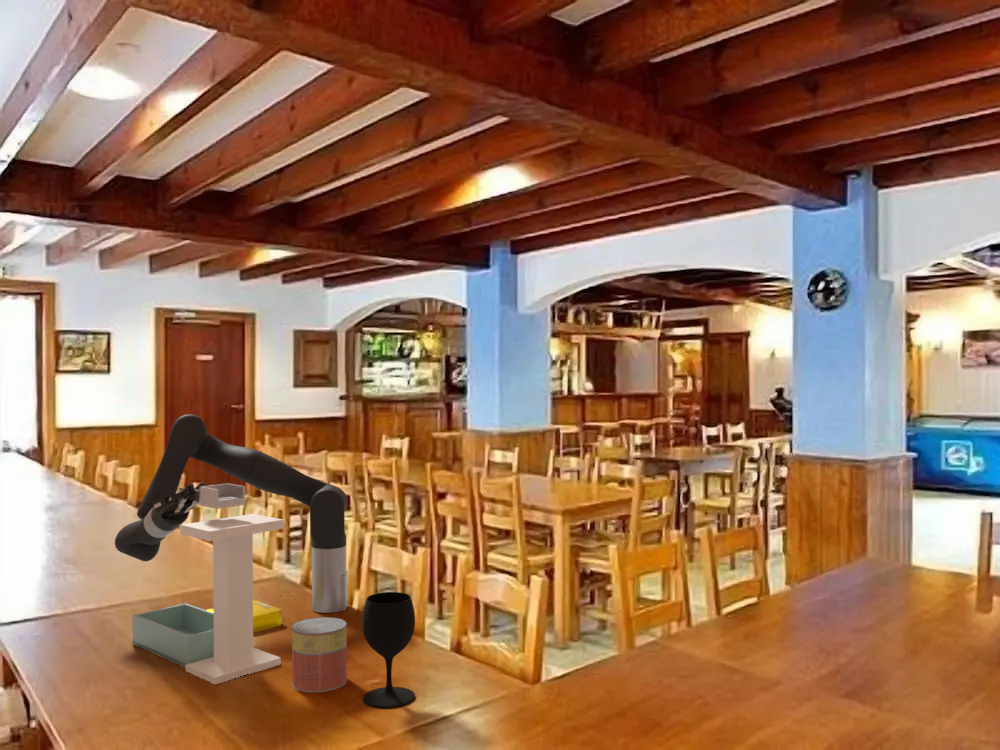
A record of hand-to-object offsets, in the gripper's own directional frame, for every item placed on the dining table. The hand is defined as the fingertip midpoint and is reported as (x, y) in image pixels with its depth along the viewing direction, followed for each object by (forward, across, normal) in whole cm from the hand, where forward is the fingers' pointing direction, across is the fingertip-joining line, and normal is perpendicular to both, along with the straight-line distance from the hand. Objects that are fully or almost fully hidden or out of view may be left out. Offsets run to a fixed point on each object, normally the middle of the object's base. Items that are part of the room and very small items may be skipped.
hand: (198, 487), depth 195 cm
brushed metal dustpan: (+2, 0, +4) cm, 5 cm away
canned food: (+12, +7, +51) cm, 53 cm away
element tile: (-30, +19, +28) cm, 45 cm away
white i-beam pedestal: (-7, 0, +40) cm, 41 cm away
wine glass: (+27, +10, +60) cm, 67 cm away
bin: (-24, 0, +31) cm, 39 cm away
